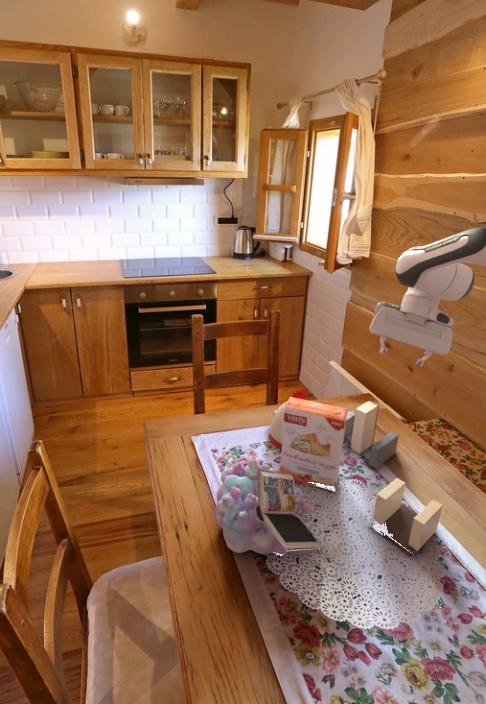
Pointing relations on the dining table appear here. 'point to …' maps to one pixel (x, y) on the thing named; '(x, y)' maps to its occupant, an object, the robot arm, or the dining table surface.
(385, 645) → the dining table surface
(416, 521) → the cream book
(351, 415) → the grey book
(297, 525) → the pastel bumpy hinged case
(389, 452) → the grey book
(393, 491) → the cream book
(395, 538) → the dark flat slab
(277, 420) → the kitchen timer
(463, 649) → the dining table surface
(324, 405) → the cracker box
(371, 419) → the tall beige block
